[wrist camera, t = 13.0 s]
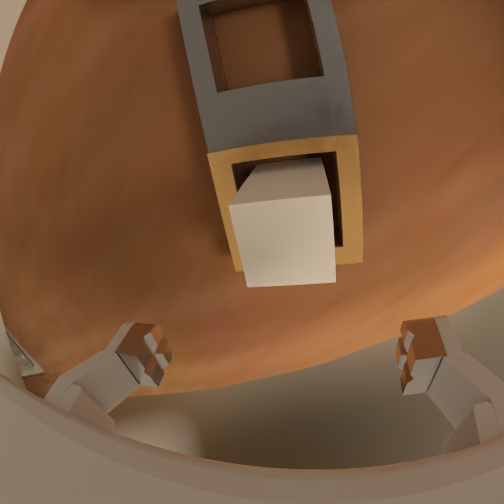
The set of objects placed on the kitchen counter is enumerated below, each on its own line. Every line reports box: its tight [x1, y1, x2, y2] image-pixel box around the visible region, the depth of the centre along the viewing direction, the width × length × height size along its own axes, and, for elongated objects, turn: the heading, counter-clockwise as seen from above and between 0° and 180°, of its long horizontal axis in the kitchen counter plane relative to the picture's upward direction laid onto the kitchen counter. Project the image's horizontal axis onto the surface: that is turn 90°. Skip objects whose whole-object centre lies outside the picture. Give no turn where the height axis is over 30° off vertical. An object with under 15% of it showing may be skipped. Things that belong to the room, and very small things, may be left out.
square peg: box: [228, 157, 336, 287], centre depth 18 cm, size 5×5×9 cm
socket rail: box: [176, 0, 363, 271], centre depth 18 cm, size 10×22×3 cm, turn 11°
